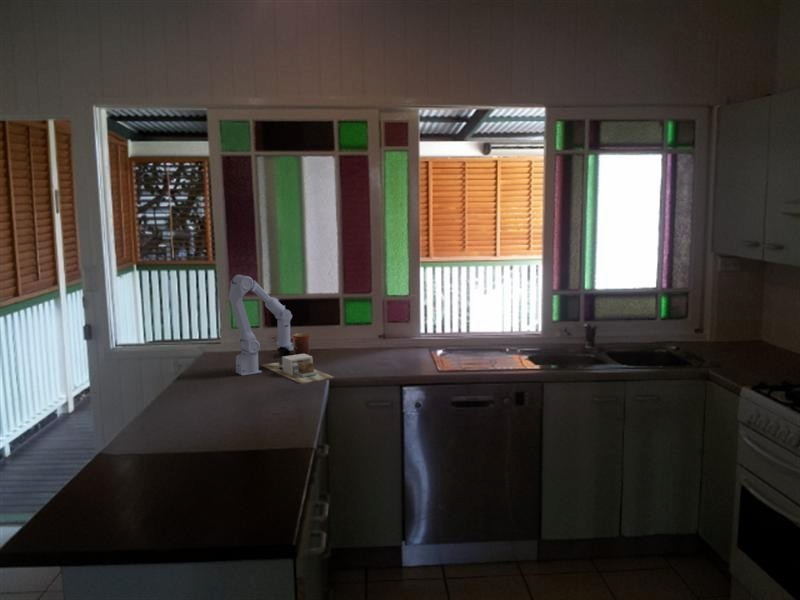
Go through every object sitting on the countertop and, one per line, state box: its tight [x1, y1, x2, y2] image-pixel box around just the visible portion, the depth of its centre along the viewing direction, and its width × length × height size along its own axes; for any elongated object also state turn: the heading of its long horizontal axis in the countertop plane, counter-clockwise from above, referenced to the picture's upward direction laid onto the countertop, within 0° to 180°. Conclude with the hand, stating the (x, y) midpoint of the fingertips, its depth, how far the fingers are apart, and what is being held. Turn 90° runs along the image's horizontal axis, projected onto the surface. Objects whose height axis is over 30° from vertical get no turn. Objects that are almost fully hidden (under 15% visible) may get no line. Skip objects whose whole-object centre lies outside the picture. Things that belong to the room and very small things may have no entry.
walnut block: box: [298, 361, 315, 374], centre depth 275 cm, size 5×5×4 cm
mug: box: [290, 332, 311, 355], centre depth 316 cm, size 12×9×10 cm
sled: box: [278, 357, 317, 377], centre depth 282 cm, size 7×23×4 cm, turn 36°
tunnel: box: [282, 354, 314, 375], centre depth 282 cm, size 11×8×7 cm
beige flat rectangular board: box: [261, 361, 334, 385], centre depth 284 cm, size 16×39×1 cm, turn 36°
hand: (284, 363), depth 293 cm, fingers closed
